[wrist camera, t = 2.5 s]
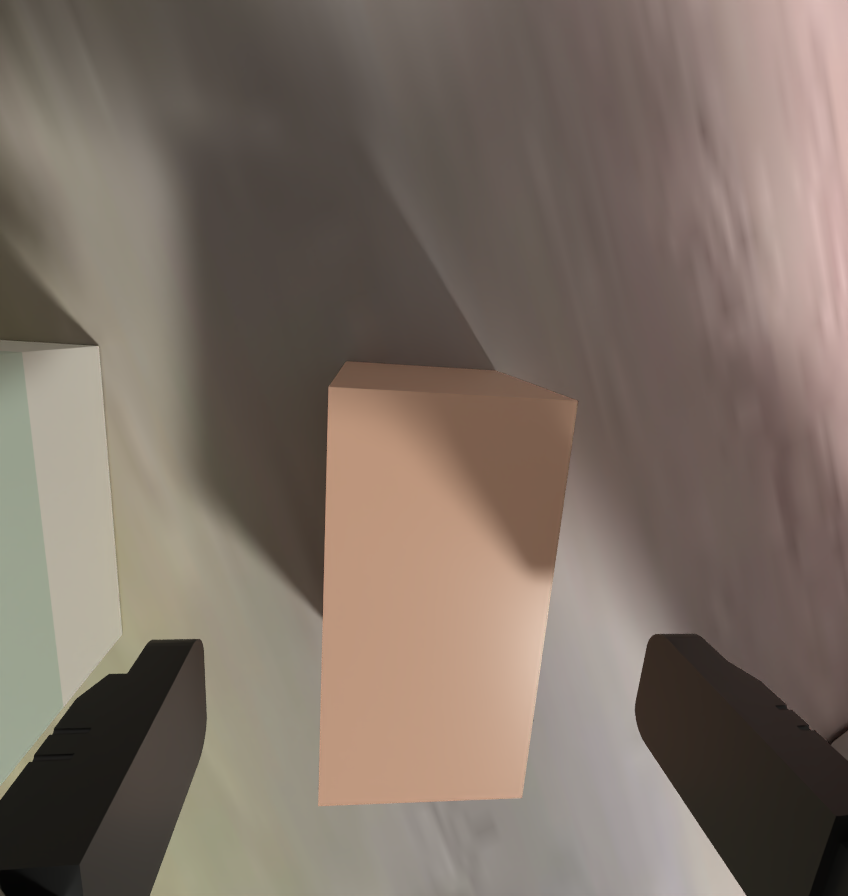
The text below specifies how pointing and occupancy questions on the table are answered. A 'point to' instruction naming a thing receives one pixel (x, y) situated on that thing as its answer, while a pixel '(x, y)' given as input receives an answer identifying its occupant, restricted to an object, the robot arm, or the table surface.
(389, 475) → the terracotta brick
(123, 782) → the robot arm
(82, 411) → the green and white block
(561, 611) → the table surface
